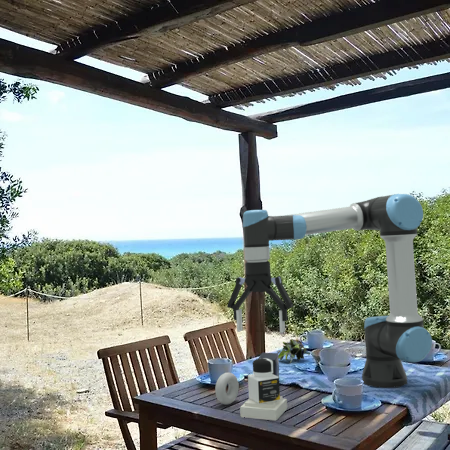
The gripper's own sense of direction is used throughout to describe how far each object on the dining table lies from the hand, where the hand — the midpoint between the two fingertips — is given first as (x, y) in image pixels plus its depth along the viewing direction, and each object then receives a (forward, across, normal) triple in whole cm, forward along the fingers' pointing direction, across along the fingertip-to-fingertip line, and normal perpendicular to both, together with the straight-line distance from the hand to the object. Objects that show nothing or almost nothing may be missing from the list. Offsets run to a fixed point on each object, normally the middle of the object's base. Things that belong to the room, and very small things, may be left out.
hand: (260, 331), depth 164 cm
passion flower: (+25, +10, -64) cm, 69 cm away
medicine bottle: (+21, 0, 0) cm, 21 cm away
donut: (+25, +14, -5) cm, 29 cm away
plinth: (+24, 0, 0) cm, 24 cm away
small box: (+25, +8, -29) cm, 39 cm away
